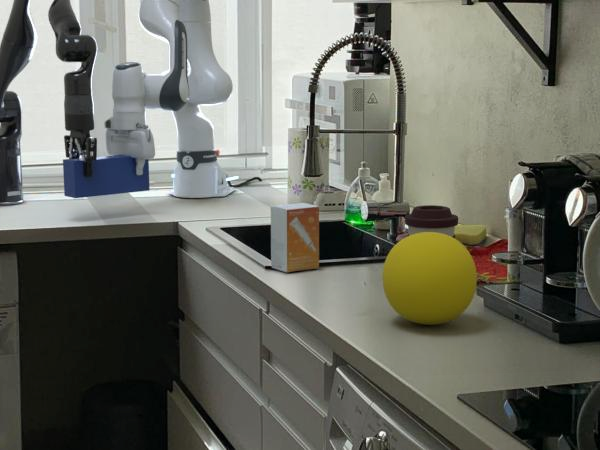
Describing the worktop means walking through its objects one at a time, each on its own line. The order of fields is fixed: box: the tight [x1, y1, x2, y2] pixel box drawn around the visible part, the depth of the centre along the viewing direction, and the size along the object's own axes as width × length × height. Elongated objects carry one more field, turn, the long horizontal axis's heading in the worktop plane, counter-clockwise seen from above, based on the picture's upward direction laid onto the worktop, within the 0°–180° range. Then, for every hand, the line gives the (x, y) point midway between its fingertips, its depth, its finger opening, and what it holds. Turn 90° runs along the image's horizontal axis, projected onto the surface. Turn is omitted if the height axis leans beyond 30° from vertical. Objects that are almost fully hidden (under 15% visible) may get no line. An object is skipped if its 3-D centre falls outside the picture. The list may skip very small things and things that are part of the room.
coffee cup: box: [404, 204, 459, 239], centre depth 197 cm, size 10×10×15 cm
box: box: [62, 155, 151, 199], centre depth 281 cm, size 22×6×10 cm, turn 130°
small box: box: [270, 202, 320, 273], centre depth 214 cm, size 8×6×13 cm
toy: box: [381, 232, 478, 326], centre depth 170 cm, size 15×15×15 cm
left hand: (81, 175), depth 276 cm, fingers closed on box, 6 cm apart
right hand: (131, 173), depth 286 cm, fingers closed on box, 6 cm apart
